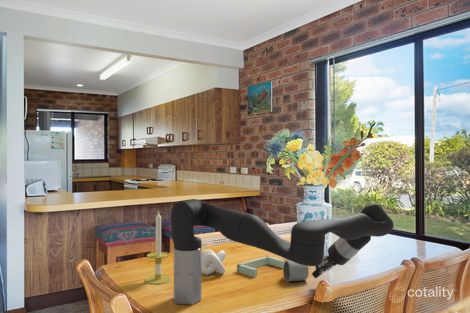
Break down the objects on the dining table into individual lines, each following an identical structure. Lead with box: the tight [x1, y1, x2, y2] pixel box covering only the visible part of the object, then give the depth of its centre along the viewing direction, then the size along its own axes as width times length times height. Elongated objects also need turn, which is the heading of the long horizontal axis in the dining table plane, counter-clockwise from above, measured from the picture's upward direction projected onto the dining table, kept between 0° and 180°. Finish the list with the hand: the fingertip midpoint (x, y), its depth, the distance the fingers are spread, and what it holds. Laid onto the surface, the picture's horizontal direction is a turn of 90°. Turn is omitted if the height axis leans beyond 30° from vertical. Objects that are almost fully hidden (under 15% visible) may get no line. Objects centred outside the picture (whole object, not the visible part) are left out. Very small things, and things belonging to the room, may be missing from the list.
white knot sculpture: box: [201, 249, 227, 276], centre depth 149 cm, size 11×12×9 cm
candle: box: [144, 210, 172, 286], centre depth 140 cm, size 10×10×27 cm
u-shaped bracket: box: [236, 255, 286, 278], centre depth 154 cm, size 10×19×3 cm, turn 133°
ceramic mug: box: [282, 260, 310, 282], centre depth 143 cm, size 11×8×8 cm
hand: (314, 275), depth 134 cm, fingers closed
